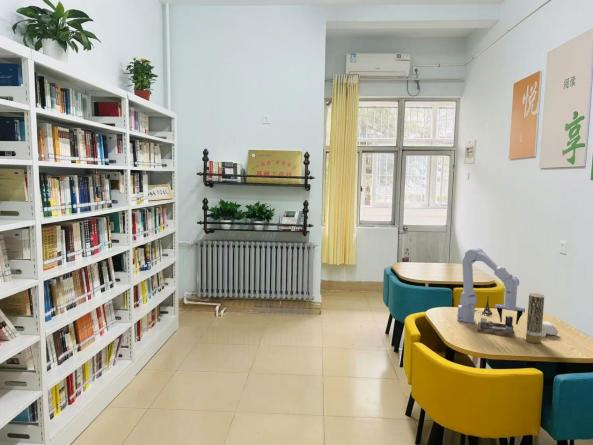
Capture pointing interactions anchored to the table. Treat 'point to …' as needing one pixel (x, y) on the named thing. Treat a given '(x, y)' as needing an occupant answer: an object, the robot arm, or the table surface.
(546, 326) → the white curved shape
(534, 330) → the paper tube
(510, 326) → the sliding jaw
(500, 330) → the vise base
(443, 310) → the table surface
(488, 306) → the eiffel tower figurine
